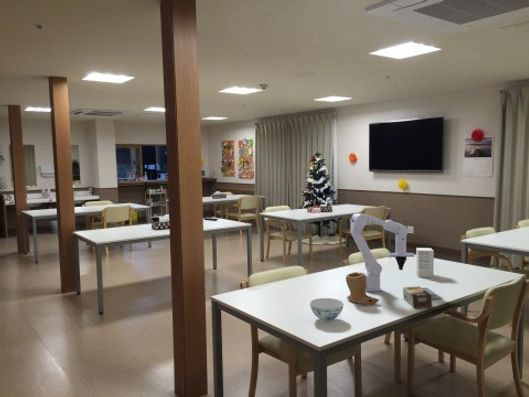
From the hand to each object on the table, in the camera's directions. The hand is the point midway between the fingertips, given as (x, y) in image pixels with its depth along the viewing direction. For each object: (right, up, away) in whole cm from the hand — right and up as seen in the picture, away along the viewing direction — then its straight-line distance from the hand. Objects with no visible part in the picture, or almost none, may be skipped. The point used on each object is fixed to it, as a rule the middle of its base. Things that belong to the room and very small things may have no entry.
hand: (400, 269), depth 245 cm
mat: (+9, -11, -12) cm, 18 cm away
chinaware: (-49, -15, -48) cm, 70 cm away
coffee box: (-1, -9, -19) cm, 21 cm away
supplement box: (+24, -8, +27) cm, 37 cm away
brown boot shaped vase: (-28, -13, -24) cm, 39 cm away
